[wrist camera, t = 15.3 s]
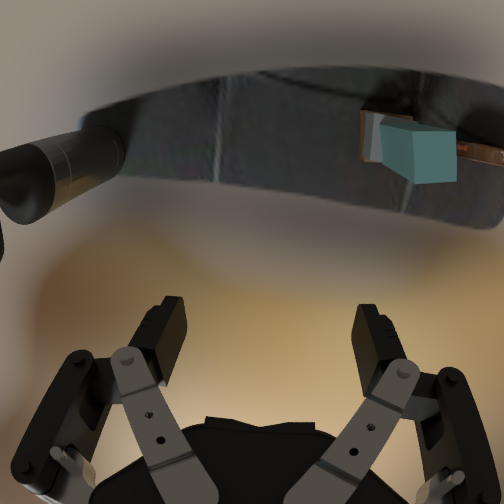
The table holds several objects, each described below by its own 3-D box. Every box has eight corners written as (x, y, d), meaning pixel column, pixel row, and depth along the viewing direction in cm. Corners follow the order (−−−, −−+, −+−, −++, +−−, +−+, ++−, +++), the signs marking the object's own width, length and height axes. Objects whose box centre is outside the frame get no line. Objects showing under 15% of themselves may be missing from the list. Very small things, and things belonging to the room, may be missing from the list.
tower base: (358, 157, 40) (364, 161, 37) (359, 110, 37) (365, 110, 34) (401, 161, 40) (410, 165, 36) (403, 115, 36) (412, 116, 33)
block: (382, 163, 34) (414, 184, 25) (379, 124, 31) (412, 131, 23) (417, 161, 33) (456, 181, 24) (415, 123, 31) (455, 131, 22)
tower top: (362, 155, 37) (369, 160, 34) (366, 112, 34) (374, 112, 31) (402, 162, 36) (412, 167, 33) (407, 120, 34) (417, 121, 31)
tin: (445, 154, 38) (474, 165, 30) (446, 134, 36) (476, 142, 29) (508, 165, 36) (537, 178, 29) (509, 148, 35) (539, 159, 27)
